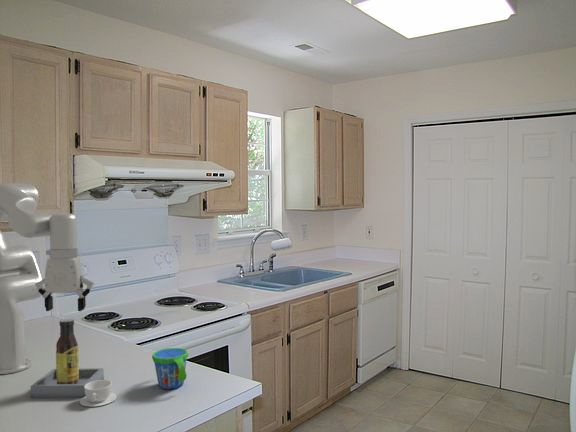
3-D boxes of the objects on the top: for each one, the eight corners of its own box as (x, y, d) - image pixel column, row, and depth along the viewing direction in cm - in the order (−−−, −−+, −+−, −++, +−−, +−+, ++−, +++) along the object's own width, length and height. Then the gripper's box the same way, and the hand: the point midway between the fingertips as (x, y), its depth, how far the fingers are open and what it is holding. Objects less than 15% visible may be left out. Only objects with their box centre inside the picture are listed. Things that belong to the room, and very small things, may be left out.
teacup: (85, 394, 148) (85, 379, 147) (120, 392, 149) (119, 377, 149) (75, 409, 138) (74, 392, 137) (112, 407, 139) (111, 390, 139)
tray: (31, 397, 145) (30, 386, 145) (53, 379, 159) (53, 368, 159) (86, 397, 145) (85, 385, 145) (103, 378, 159) (103, 368, 159)
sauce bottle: (70, 389, 149) (68, 323, 148) (52, 388, 150) (49, 322, 149) (83, 381, 155) (81, 318, 154) (65, 379, 156) (63, 317, 155)
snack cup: (146, 381, 157) (145, 349, 156) (178, 374, 163) (177, 343, 162) (163, 398, 144) (162, 363, 143) (197, 389, 150) (196, 356, 149)
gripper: (28, 255, 147) (30, 313, 148) (87, 256, 147) (88, 313, 148) (41, 252, 154) (43, 307, 155) (97, 252, 154) (98, 307, 155)
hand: (65, 310), depth 151 cm, fingers open, 9 cm apart
